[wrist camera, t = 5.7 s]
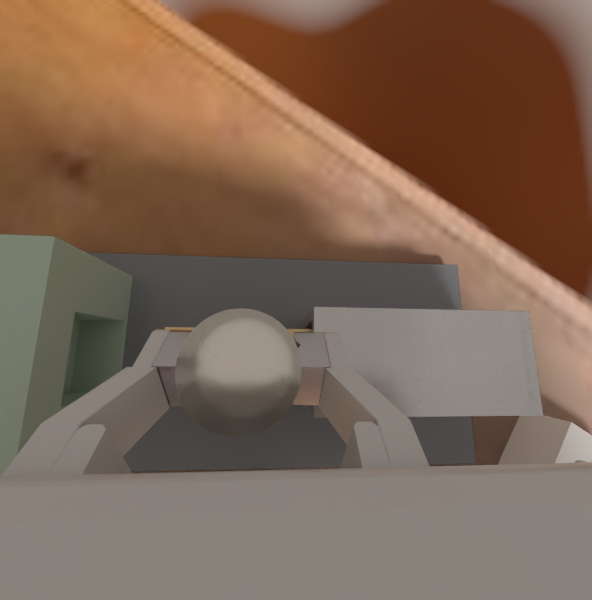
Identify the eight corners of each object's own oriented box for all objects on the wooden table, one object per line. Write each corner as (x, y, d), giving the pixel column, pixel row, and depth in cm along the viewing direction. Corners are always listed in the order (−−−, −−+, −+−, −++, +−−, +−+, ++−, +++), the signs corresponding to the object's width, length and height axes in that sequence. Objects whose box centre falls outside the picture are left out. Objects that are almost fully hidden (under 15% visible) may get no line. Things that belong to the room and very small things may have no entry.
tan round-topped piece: (457, 334, 18) (686, 317, 8) (461, 383, 17) (713, 429, 7) (184, 330, 16) (50, 304, 7) (180, 383, 16) (28, 439, 6)
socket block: (132, 276, 18) (54, 236, 11) (113, 443, 16) (8, 506, 10) (49, 273, 17) (-79, 231, 11) (20, 445, 16) (-152, 511, 9)
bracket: (533, 660, 17) (734, 902, 10) (436, 593, 17) (559, 778, 10) (604, 465, 19) (808, 537, 12) (518, 408, 20) (667, 445, 12)
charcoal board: (446, 269, 21) (457, 265, 20) (463, 456, 18) (476, 463, 17) (67, 257, 19) (53, 251, 18) (33, 465, 16) (15, 474, 15)
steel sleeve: (462, 321, 19) (528, 311, 14) (470, 397, 18) (543, 415, 13) (303, 318, 18) (314, 306, 13) (302, 397, 17) (314, 417, 12)
